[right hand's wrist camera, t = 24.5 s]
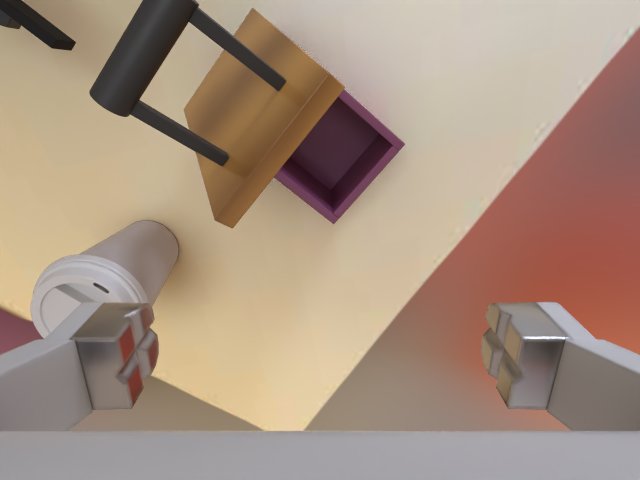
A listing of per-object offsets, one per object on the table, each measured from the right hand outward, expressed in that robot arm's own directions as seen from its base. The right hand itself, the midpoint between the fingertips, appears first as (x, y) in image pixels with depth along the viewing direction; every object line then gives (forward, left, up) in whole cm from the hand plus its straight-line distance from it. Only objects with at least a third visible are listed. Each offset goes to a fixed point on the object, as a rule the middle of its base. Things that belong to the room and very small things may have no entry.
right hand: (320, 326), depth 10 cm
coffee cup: (+21, +10, -36) cm, 43 cm away
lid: (+4, -4, -19) cm, 20 cm away
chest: (+1, -2, -36) cm, 36 cm away
